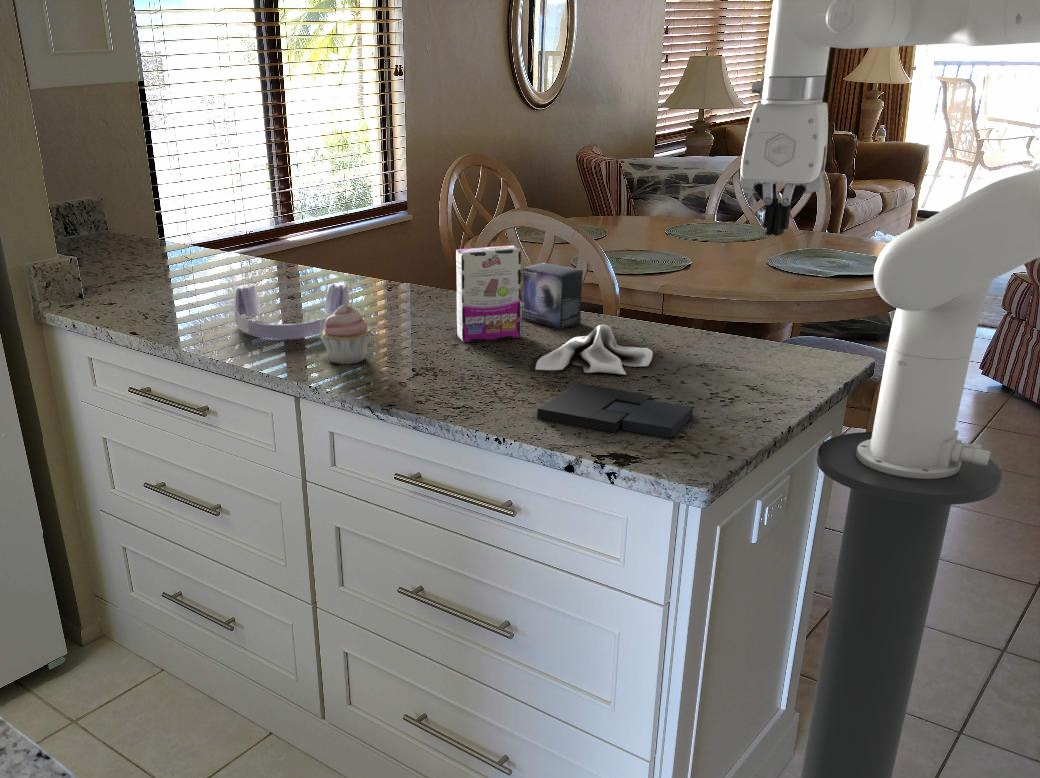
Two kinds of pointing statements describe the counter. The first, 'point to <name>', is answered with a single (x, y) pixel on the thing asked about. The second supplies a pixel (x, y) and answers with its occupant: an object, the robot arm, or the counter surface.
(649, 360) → the cloth
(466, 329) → the candy bar box
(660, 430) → the charcoal pad
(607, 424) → the black notched block
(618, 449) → the counter surface
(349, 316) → the cupcake
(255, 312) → the headphones
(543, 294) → the small box
